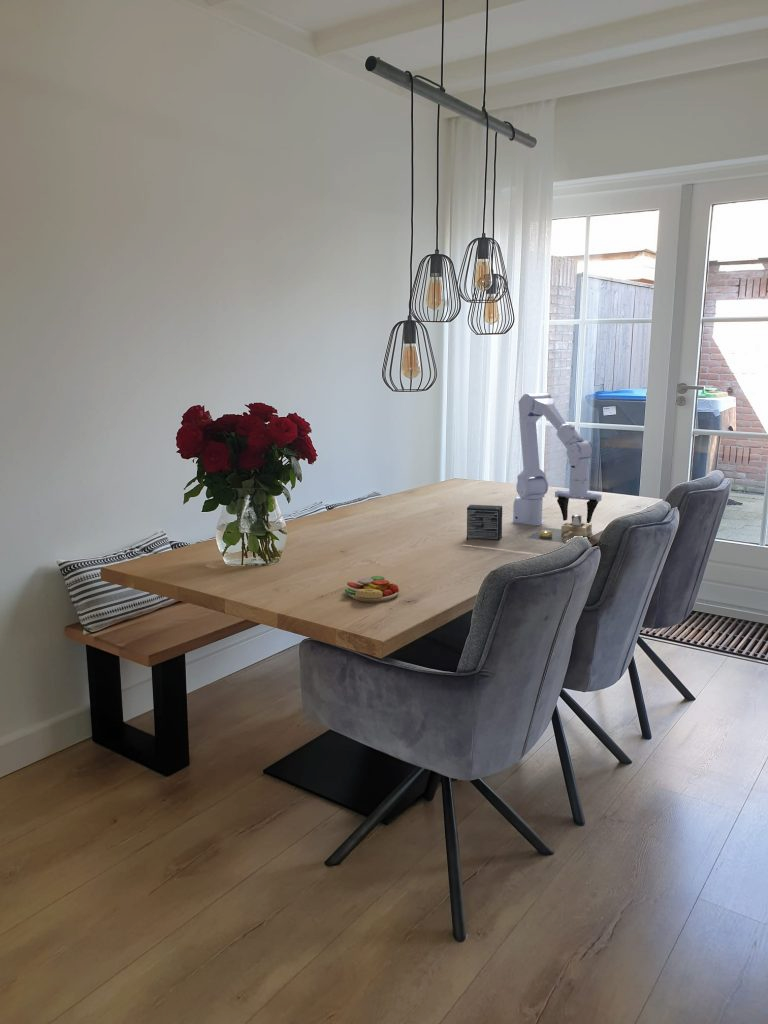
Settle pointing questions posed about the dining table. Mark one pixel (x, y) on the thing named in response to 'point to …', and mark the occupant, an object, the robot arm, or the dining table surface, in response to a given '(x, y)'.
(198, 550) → the dining table surface
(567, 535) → the beech rail
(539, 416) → the robot arm
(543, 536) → the gold metal dome
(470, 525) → the small box
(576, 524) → the steel pin
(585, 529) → the beech socket block
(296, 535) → the dining table surface
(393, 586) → the toy food set
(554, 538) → the slate board
